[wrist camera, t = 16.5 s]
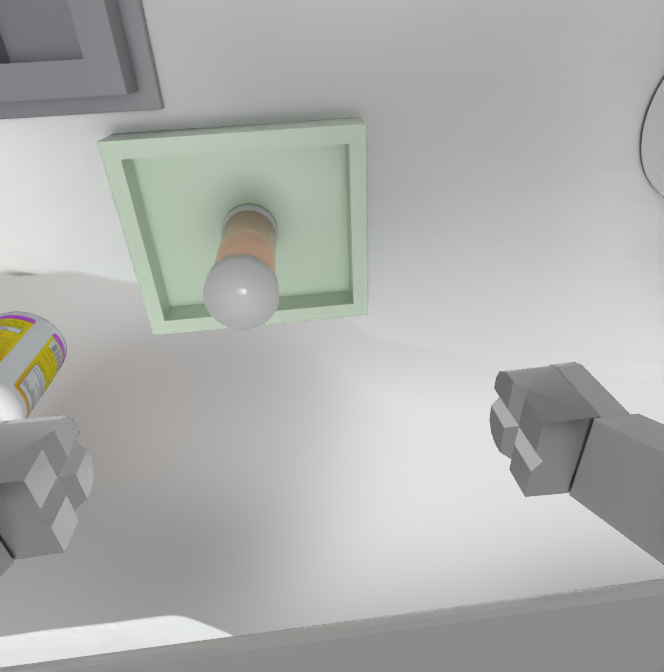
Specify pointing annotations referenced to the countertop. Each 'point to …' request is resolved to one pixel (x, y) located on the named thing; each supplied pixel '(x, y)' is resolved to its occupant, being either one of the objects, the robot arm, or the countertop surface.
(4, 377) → the supplement bottle
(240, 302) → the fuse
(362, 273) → the parts tray
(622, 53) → the countertop surface
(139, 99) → the socket block
